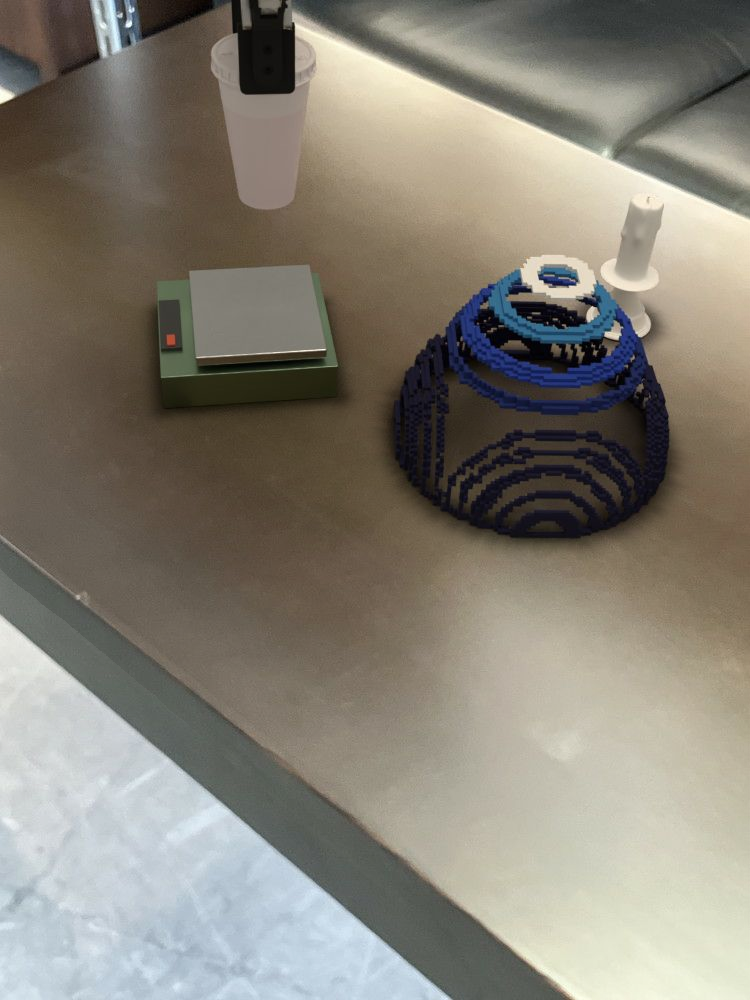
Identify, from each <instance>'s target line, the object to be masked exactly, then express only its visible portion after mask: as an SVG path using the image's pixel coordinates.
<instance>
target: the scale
mask: <svg viewBox="0 0 750 1000" xmlns="http://www.w3.org/2000/svg"><path fill="white" fill-rule="evenodd" d="M311 274H312V279H313V284H314V289H315V294H316V299H317V304H318V309H319V314H320V319H321V324H322V329H323V334H324V339H325V343H326V348H327V357H326V358H314V359H298V360H282V361H266V362H250V363H234V364H218V365H202V366H197V365H196V359H195V346H194V333H193V320H192V307H191V294H190V281H189V279H174V280H171V279H170V280H157V281H156V296H157V297H156V298H157V299H156V300H157V301H156V303H157V318H158V319H157V323H158V324H157V325H158V346H159V347H158V348H159V367H160V368H159V371H160V381H161V393H162V401H163V408H164V409H177V408H189V407H204V406H220V405H232V404H233V405H234V404H247V403H262V402H264V403H265V402H277V401H291V400H307V399H308V400H310V399H322V398H324V399H325V398H337V397H338V388H339V386H338V384H339V364H338V363H339V362H338V359H337V354H336V350H335V344H334V340H333V336H332V334H333V333H332V331H331V330H332V329H331V325H330V320H329V316H328V311H327V307H326V302H325V297H324V293H323V292H324V291H323V288H322V283H321V278H320V273H319V272H311Z"/></svg>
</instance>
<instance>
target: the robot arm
mask: <svg viewBox="0 0 750 1000" xmlns="http://www.w3.org/2000/svg"><path fill="white" fill-rule="evenodd" d="M292 5H293V4H292V0H230V7H231V31H232V34H235V33H237V34H238V60H239V85H240V91H241V92H242V93H243V94H245V95H264V94H291V93H293V92H294V90H295V36H296V25H295V24H296V23H295V21H293V6H292Z"/></svg>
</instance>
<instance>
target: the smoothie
mask: <svg viewBox="0 0 750 1000" xmlns="http://www.w3.org/2000/svg"><path fill="white" fill-rule="evenodd" d="M316 53H317V52H316V50H315V47H314V46H313V45H312V44H311V43H310V42H308V41H307V40H306V39H304V38H302V37H300V36H297V35H295V90H294V92H293V93H291V94H264V95H245V94H243V93H242V92H241V91H240V85H239V60H238V34H237V33H235V34H233V33H231V34H229V35H226V36H224V37H222V38H221V39H219V40H217V42H216V43H215V44H214V45H213V46H212V47H211V51H210V55H211V62H210V70H211V72H212V73H213V75H214V77H215V78H216V79H217V81H218V88H219V94H220V100H221V104H222V109H223V115H224V120H225V121H224V122H225V127H226V132H227V138H228V143H229V149H230V155H231V160H232V166H233V167H232V168H233V172H234V177H235V182H236V189H237V194H238V198H239V200H240V201H241V202H242V203H243V204H244V205H246V206H248V207H250V208H253V209H257V210H266V211H268V210H269V211H270V210H278V209H281V208H284V207H287V206H288V205H290V204H291V203H292V202H293V201H294V199H295V196H296V188H297V181H298V174H299V165H300V158H301V152H302V144H303V136H304V130H305V122H306V115H307V108H308V107H307V106H308V101H309V94H310V85H311V80H312V79H313V78H314V77H315V76H316V74H317V71H318V68H317V54H316Z"/></svg>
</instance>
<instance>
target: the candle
mask: <svg viewBox="0 0 750 1000" xmlns="http://www.w3.org/2000/svg"><path fill="white" fill-rule="evenodd" d="M664 208H665V203H664V201H663V200H662V199H661V198H660V197H658V196H656V195H654V194H651V193H643V192H642V193H640V192H639V193H635V194H634V196H633V197H632V198H631V200H630V201H629V204H628V209H627V212H626V216H625V220H624V223H623V226H622V228H621V231H620V238H621V240H620V244H619V248H618V253H617V257H613V258H611V259H609V260H606V261H605V262H604V263H603V264H602V265H601V267H600V269H599V270H600V275H601V278H602V279H603V280H604V282H606V283H607V284H608V285H609V286H611V287H612V290H610V291H609V293H610V297H611V299H615V300H616V304H618V305H619V308H621V309H622V311H624V312H625V315H627V317H628V318H630V320H631V323H632V326H633V330H635V333H636V334H638V337H641V338H643V337H645V336H646V335H648V333H649V332H650V330H651V327H652V322H651V318H650V317H649V315H648V314H647V313H646V308H645V305H644V303H643V302H642V301H641V300H640V296H639V293H642V292H647V291H650V290H652V289H654V288H655V287H656V286H657V285H659V282H660V275H659V272H658V271H657V270H656V268H654V266H653V265H651V264H650V261H651V258H652V255H653V250H654V247H655V242H656V239H657V234H658V233H659V230H660V229H661V227H662V218H663V212H664ZM597 315H600V313H599V312H598V309H597V307H593V306H590V307H589V308H588V310H587V312H586V315H585V318H586V322H590V321H591V320H594V317H597ZM613 321H614V327H611V328H612V329H611V332H605V335H604V337H603V338H606V339H610V340H614V341H619V336H622V335H621V332H620V331H621V328H623V327H620V324H619V323H617V321H615V320H613Z"/></svg>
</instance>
